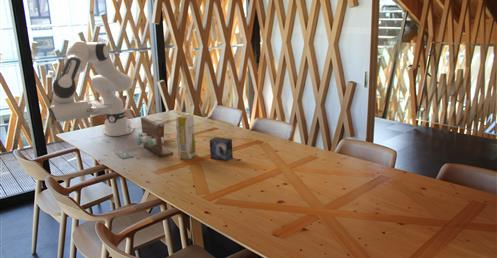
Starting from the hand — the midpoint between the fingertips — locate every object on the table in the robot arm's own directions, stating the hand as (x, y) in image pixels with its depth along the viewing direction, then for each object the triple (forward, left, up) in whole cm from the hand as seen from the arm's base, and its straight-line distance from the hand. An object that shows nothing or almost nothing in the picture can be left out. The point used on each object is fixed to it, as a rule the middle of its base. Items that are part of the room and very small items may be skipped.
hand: (112, 105), depth 220 cm
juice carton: (-3, +37, -30) cm, 48 cm away
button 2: (-5, +20, -24) cm, 31 cm away
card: (-5, +1, -29) cm, 30 cm away
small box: (-1, +56, -30) cm, 64 cm away
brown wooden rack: (-13, +18, -29) cm, 37 cm away
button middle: (-8, +13, -24) cm, 28 cm away
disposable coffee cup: (-32, +12, -30) cm, 46 cm away
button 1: (-16, +11, -24) cm, 31 cm away
